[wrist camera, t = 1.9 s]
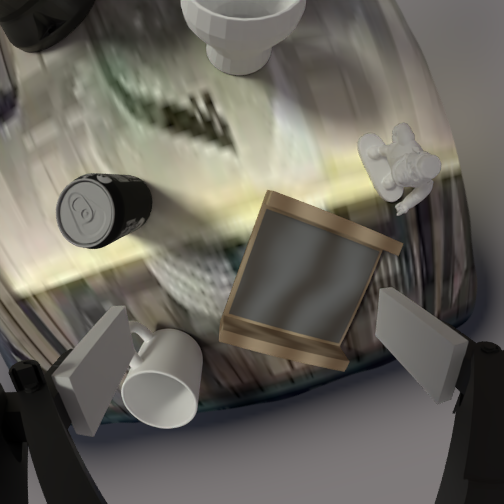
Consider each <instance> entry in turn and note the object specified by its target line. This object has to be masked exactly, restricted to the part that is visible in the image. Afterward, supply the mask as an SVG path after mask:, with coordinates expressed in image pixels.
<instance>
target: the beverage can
mask: <svg viewBox="0 0 504 504" xmlns="http://www.w3.org/2000/svg"><path fill="white" fill-rule="evenodd" d="M151 209H152V197H151V193H150V191H149V189H148V187H147V186H146V184H145V183H144V182H143V181H142V180H140V179H139V178H137V177H135V176H131V175H116V174H95V173H91V174H85V175H82V176H80V177H78V178H77V179H75V180H74V181H73V182H71V183H70V184H68V185H67V186H66V187H65V188H64V190H63V191H62V192H61V194H60V196H59V199H58V202H57V206H56V219H57V224H58V227H59V229H60V231H61V233H62V235H63V236H64V237H65V238H66V239H67V240H68V241H69V242H70V243H72V244H73V245H75V246H78V247H83V248H89V249H98V248H102V247H104V246H107V245H108V244H110V243H112V242H114V241H116V240H118V239H119V238H121V237H123V236H125V235H127V234H129V233H131V232H133V231H135V230H136V229H138V228H140V227H141V226H142V225H143V224H144V223H145V222H146V221H147V219H148V218H149V216H150V213H151Z"/></svg>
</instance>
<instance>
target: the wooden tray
mask: <svg viewBox="0 0 504 504" xmlns="http://www.w3.org/2000/svg"><path fill="white" fill-rule="evenodd" d="M402 246H403V243H401V242H398V241H396V240H394V239H392V238H389V237H387V236H385V235H382V234H380V233H378V232H375V231H373V230H371V229H368V228H366V227H364V226H361V225H359V224H356V223H354V222H352V221H349V220H347V219H344V218H342V217H339V216H337V215H334V214H332V213H329V212H327V211H324V210H322V209H319V208H317V207H314V206H312V205H309V204H306V203H304V202H301V201H299V200H296V199H293V198H291V197H288V196H285V195H283V194H280V193H277V192H275V191H270V190H267V192H266V195H265V197H264V200H263V203H262V206H261V209H260V211H259V214H258V217H257V220H256V222H255V225H254V228H253V231H252V234H251V236H250V239H249V242H248V245H247V248H246V250H245V253H244V256H243V259H242V262H241V264H240V267H239V270H238V273H237V276H236V278H235V281H234V284H233V287H232V290H231V293H230V295H229V298H228V301H227V304H226V307H225V309H224V312H223V315H222V318H221V321H220V332H219V341H220V342H224V343H227V344H231V345H234V346H238V347H241V348H245V349H249V350H253V351H256V352H260V353H264V354H268V355H272V356H276V357H280V358H284V359H288V360H293V361H297V362H301V363H306V364H310V365H315V366H320V367H324V368H329V369H334V370H339V371H345V369H346V367H347V366H348V364H349V360H348V358H347V357H346V355H345V354H344V352H343V351H342V349H341V348H340V345H341V343H342V341H343V339H344V337H345V335H346V333H347V330H348V328H349V326H350V324H351V322H352V320H353V318H354V316H355V314H356V311H357V309H358V307H359V305H360V303H361V300H362V298H363V296H364V294H365V291H366V289H367V287H368V284H369V282H370V280H371V277H372V275H373V273H374V270H375V268H376V265H377V263H378V260H379V258H380V255H381V253H382V250H385V251H388V252H390V253H393V254H395V255H397V256H399V253H400V251H401V248H402Z"/></svg>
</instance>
